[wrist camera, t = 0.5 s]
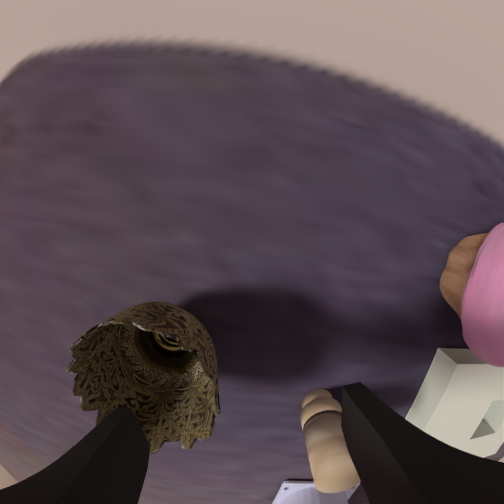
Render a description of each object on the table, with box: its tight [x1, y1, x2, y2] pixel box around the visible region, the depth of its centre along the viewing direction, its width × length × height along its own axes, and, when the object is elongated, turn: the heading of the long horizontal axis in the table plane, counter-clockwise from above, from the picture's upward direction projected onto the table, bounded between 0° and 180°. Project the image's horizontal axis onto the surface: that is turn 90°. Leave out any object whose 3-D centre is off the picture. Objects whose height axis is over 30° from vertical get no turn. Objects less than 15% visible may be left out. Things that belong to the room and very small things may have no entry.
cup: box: [67, 302, 220, 454], centre depth 16 cm, size 8×7×8 cm
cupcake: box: [440, 222, 504, 367], centre depth 14 cm, size 9×9×10 cm
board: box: [405, 348, 504, 458], centre depth 20 cm, size 12×16×3 cm
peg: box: [300, 389, 361, 493], centre depth 17 cm, size 3×3×8 cm
